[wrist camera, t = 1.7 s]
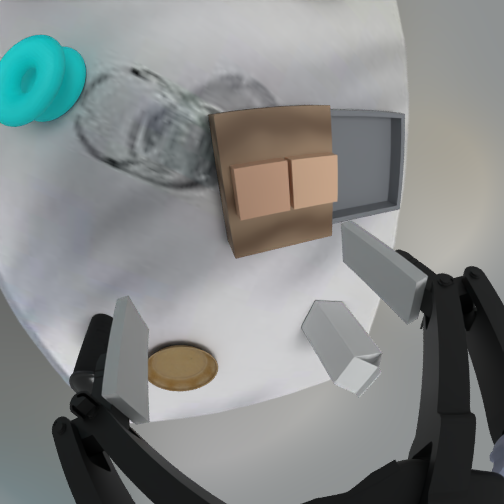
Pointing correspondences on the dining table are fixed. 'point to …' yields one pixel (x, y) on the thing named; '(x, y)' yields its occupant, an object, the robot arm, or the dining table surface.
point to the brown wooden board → (262, 148)
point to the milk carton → (342, 346)
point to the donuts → (39, 81)
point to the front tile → (261, 187)
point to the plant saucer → (181, 368)
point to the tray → (367, 162)
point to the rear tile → (312, 179)
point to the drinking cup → (91, 353)
